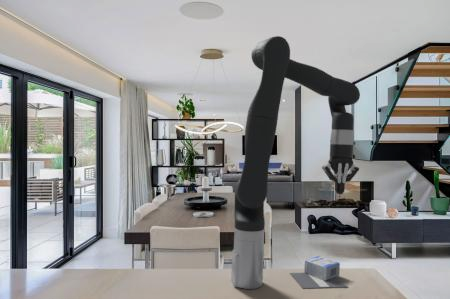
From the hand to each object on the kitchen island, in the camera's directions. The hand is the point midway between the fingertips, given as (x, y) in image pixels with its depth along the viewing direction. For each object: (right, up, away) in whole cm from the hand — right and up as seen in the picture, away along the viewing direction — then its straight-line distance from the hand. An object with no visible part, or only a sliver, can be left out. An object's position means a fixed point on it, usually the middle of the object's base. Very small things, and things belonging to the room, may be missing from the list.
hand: (339, 193), depth 120 cm
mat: (-10, -27, -8) cm, 30 cm away
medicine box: (-4, -25, -7) cm, 26 cm away
